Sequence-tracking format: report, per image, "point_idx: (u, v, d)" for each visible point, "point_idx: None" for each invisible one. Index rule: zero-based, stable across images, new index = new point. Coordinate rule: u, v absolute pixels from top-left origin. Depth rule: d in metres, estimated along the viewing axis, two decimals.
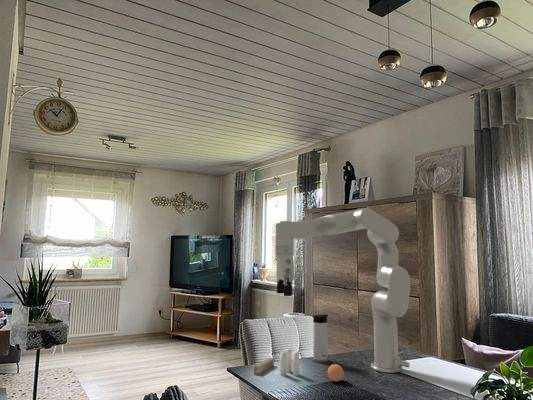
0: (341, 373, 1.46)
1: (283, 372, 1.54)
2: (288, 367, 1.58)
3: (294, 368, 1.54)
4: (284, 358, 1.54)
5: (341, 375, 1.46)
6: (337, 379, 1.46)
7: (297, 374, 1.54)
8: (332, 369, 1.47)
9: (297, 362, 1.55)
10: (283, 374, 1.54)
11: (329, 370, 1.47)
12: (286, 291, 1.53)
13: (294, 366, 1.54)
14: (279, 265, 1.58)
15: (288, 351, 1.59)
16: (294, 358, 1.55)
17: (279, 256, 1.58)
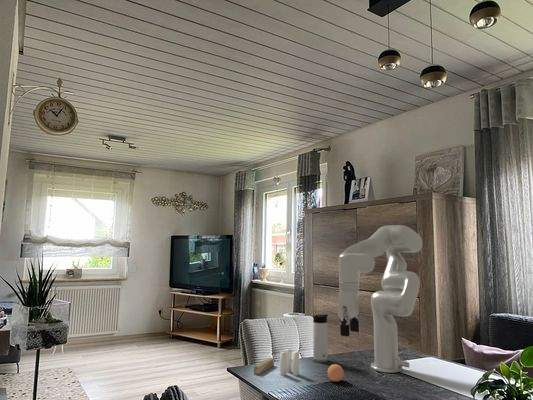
0: (341, 373, 1.46)
1: (283, 372, 1.54)
2: (288, 367, 1.58)
3: (294, 368, 1.54)
4: (284, 358, 1.54)
5: (341, 375, 1.46)
6: (337, 379, 1.46)
7: (297, 374, 1.54)
8: (332, 369, 1.47)
9: (297, 362, 1.55)
10: (283, 374, 1.54)
11: (329, 370, 1.47)
12: None
13: (294, 366, 1.54)
14: (356, 302, 1.48)
15: (288, 351, 1.59)
16: (294, 358, 1.55)
17: (356, 292, 1.49)
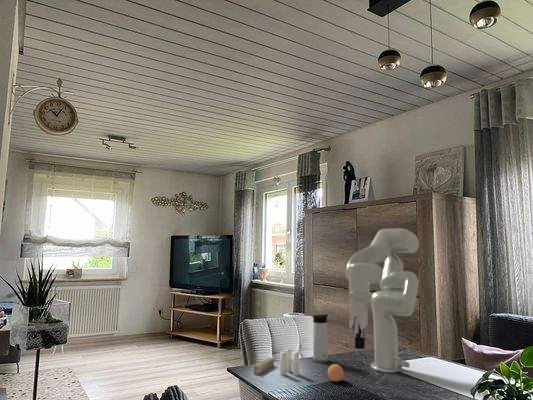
0: (341, 373, 1.46)
1: (283, 372, 1.54)
2: (288, 367, 1.58)
3: (294, 368, 1.54)
4: (284, 358, 1.54)
5: (341, 375, 1.46)
6: (337, 379, 1.46)
7: (297, 374, 1.54)
8: (332, 369, 1.47)
9: (297, 362, 1.55)
10: (283, 374, 1.54)
11: (329, 370, 1.47)
12: None
13: (294, 366, 1.54)
14: (366, 312, 1.47)
15: (288, 351, 1.59)
16: (294, 358, 1.55)
17: (366, 302, 1.47)
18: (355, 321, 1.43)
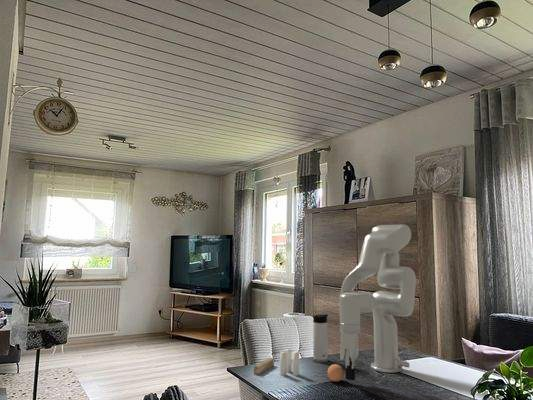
0: (341, 373, 1.46)
1: (283, 372, 1.54)
2: (288, 367, 1.58)
3: (294, 368, 1.54)
4: (284, 358, 1.54)
5: (341, 375, 1.46)
6: (337, 379, 1.46)
7: (297, 374, 1.54)
8: (332, 369, 1.47)
9: (297, 362, 1.55)
10: (283, 374, 1.54)
11: (329, 370, 1.47)
12: None
13: (294, 366, 1.54)
14: (357, 343, 1.47)
15: (288, 351, 1.59)
16: (294, 358, 1.55)
17: (357, 333, 1.47)
18: (346, 353, 1.43)
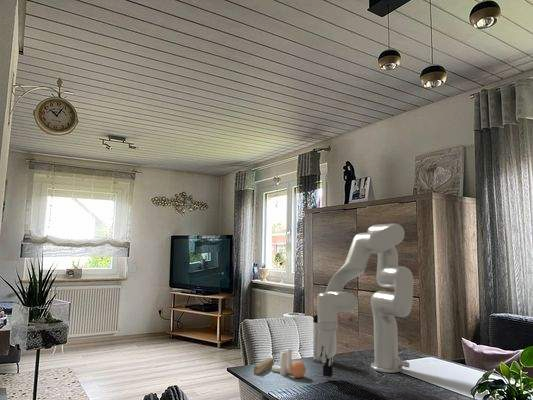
0: None
1: (283, 372, 1.54)
2: None
3: None
4: (284, 358, 1.54)
5: None
6: (292, 374, 1.51)
7: None
8: (301, 373, 1.49)
9: None
10: (283, 374, 1.54)
11: (301, 369, 1.50)
12: None
13: None
14: (334, 341, 1.51)
15: (288, 351, 1.59)
16: (276, 370, 1.57)
17: (334, 331, 1.51)
18: (322, 350, 1.47)
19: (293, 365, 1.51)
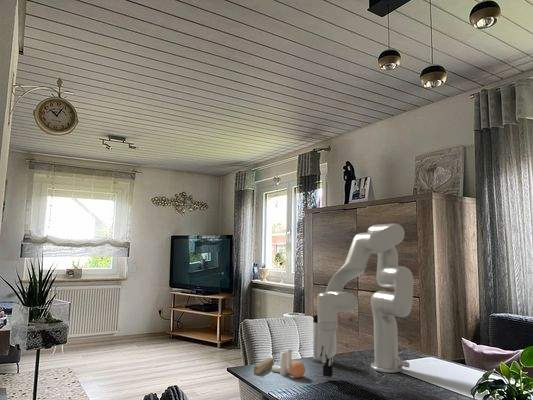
0: None
1: (283, 372, 1.54)
2: (288, 367, 1.58)
3: None
4: (284, 358, 1.54)
5: None
6: (292, 375, 1.51)
7: None
8: (301, 373, 1.49)
9: None
10: (283, 374, 1.54)
11: (300, 370, 1.49)
12: None
13: None
14: (334, 341, 1.51)
15: (288, 351, 1.59)
16: (276, 370, 1.57)
17: (334, 331, 1.51)
18: (322, 350, 1.47)
19: (292, 366, 1.51)
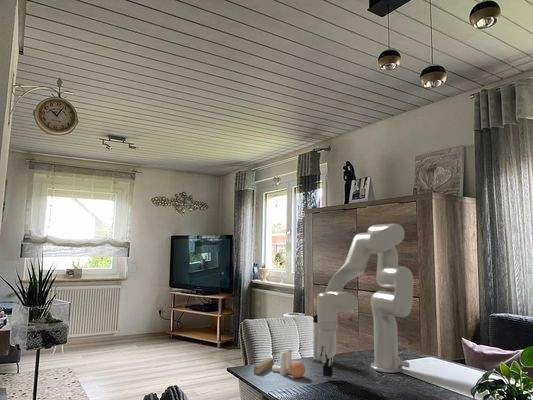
0: None
1: (283, 372, 1.54)
2: None
3: None
4: (284, 358, 1.54)
5: None
6: (292, 375, 1.51)
7: None
8: (301, 373, 1.49)
9: None
10: (283, 374, 1.54)
11: (300, 370, 1.49)
12: None
13: None
14: (334, 341, 1.51)
15: (288, 351, 1.59)
16: (276, 370, 1.58)
17: (334, 331, 1.51)
18: (322, 350, 1.47)
19: (292, 366, 1.51)
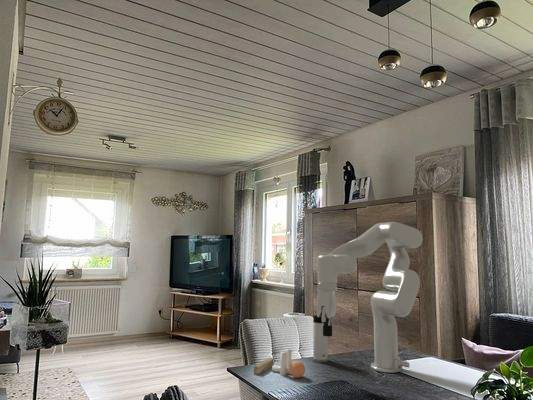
0: None
1: (283, 372, 1.54)
2: None
3: None
4: (284, 358, 1.54)
5: None
6: (292, 375, 1.51)
7: None
8: (301, 373, 1.49)
9: None
10: (283, 374, 1.54)
11: (300, 370, 1.49)
12: None
13: None
14: (334, 301, 1.53)
15: (288, 351, 1.59)
16: (276, 370, 1.58)
17: (334, 292, 1.53)
18: (322, 310, 1.49)
19: (292, 366, 1.51)
